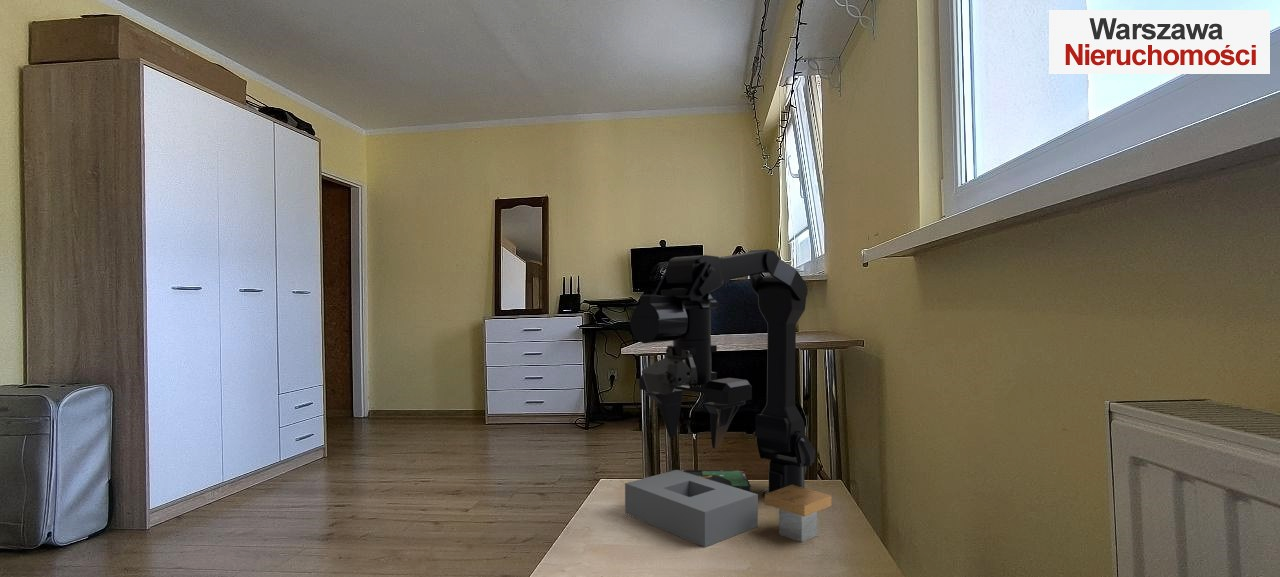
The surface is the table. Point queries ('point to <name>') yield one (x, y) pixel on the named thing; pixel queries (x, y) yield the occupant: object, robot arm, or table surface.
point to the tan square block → (798, 510)
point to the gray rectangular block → (692, 506)
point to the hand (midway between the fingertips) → (693, 442)
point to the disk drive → (723, 477)
